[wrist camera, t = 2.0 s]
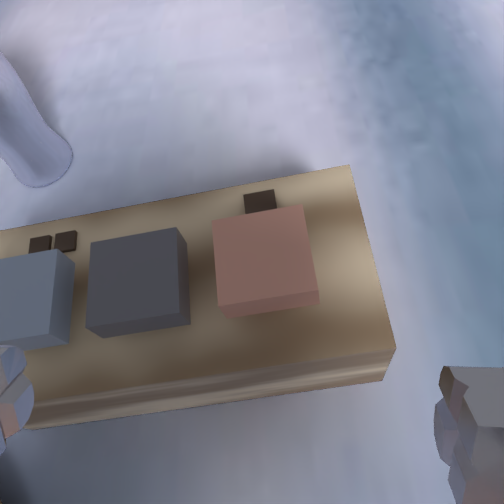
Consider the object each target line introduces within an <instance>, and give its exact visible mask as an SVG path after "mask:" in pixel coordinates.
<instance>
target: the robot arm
mask: <svg viewBox="0 0 504 504" xmlns="http://www.w3.org/2000/svg"><path fill="white" fill-rule="evenodd" d="M26 366H27V362H26V358H25V355H24V352H23V350H22V349H20V348H19V347H17V346H10V345H0V456H1V454H2V453H3V452H4V451H5V449H6V438H8V437H10V436H12V435H13V434H15V433H17V432H19V431H20V430H21V429H22V428H23V426H24V425H25V424H26V422H27V421H28V420H29V417H30V414H31V411H32V408H33V406H34V390H33V386H32V382H31V381H30V380H29V379H28V378H27V377H26V376H25V375H24V374H23V371H24V369H25V367H26ZM439 387H440V389H441V392H442V394H443V398H442V399H441V400H440V401H439V402H438V403H437V404H436V405H435V413H434V436H435V441H436V446H437V450H438V453H439V456H440V459H441V460H443V461H444V462H445V463H446V464H447V465H448V466H450V469H449V475H448V482H449V485H450V488H451V490H452V493H453V496H454V499H455V502H456V504H504V367H502V368H491V367H460V366H444V367H443V369H442V371H441V374H440V380H439Z"/></svg>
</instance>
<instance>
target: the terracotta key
mask: <svg viewBox="0 0 504 504" xmlns="http://www.w3.org/2000/svg"><path fill="white" fill-rule="evenodd" d="M212 232H213V245H214V258H215V271H216V284H217V297H218V307H219V308H220V310H221V311H222V312H223V314H224V315H225V317H226V318H227V319H228V318H235V317H241V316H247V315H253V314H260V313H266V312H272V311H278V310H285V309H291V308H297V307H303V306H310V305H316V304H320V300H319V290H318V285H317V279H316V274H315V269H314V263H313V258H312V253H311V247H310V242H309V237H308V232H307V226H306V221H305V216H304V210H303V205H302V204H299V205H294V206H288V207H283V208H277V209H272V210H266V211H261V212H255V213H250V214H244V215H239V216H234V217H228V218H223V219H217V220H212Z"/></svg>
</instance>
